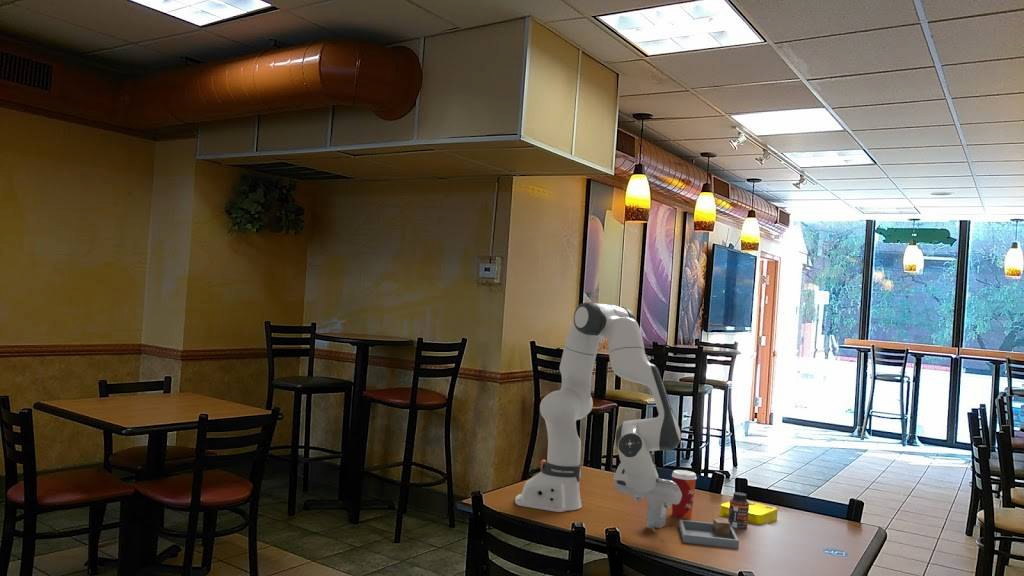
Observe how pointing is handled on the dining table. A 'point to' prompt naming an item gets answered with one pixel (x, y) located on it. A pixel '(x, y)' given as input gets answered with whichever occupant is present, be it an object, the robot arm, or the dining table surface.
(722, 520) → the walnut block
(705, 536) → the tray
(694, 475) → the coffee cup
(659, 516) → the steel part
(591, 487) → the dining table surface
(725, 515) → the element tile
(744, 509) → the supplement bottle
